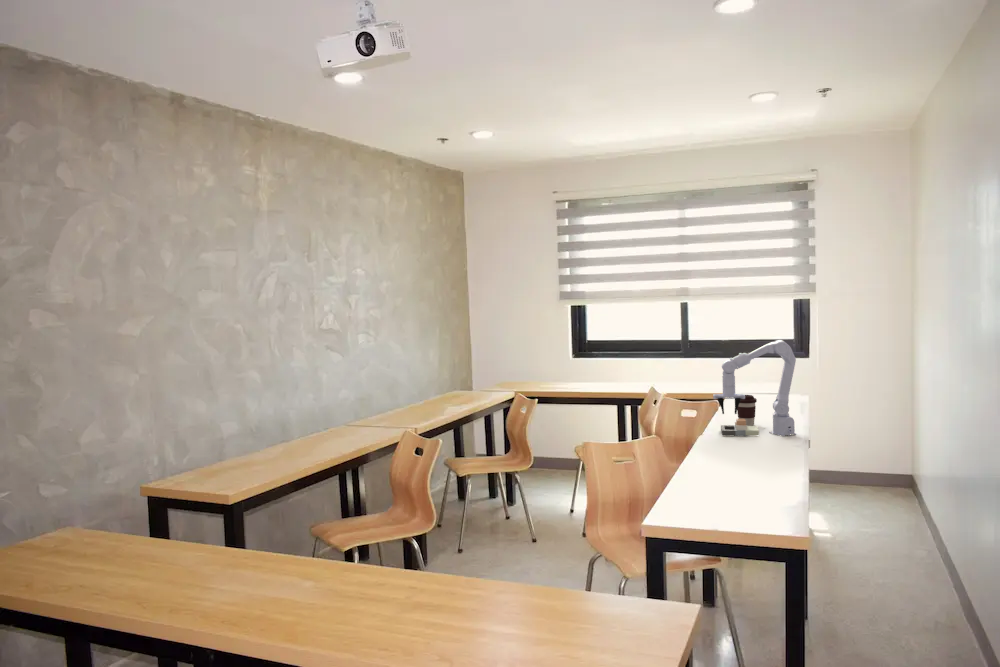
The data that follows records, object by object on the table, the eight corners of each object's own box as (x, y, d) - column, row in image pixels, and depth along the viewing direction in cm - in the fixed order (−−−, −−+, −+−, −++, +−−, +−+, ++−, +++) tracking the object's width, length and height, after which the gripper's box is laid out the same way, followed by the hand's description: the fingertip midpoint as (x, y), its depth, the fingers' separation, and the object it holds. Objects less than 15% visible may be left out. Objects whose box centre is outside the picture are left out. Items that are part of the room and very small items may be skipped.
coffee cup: (753, 427, 363) (752, 397, 362) (733, 426, 369) (732, 396, 368) (759, 424, 371) (759, 394, 370) (740, 422, 377) (739, 393, 376)
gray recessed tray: (743, 430, 358) (743, 425, 358) (745, 436, 346) (745, 430, 346) (720, 430, 361) (720, 425, 361) (722, 435, 348) (722, 430, 348)
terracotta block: (745, 427, 354) (744, 418, 354) (745, 429, 349) (745, 420, 349) (736, 426, 355) (736, 418, 355) (737, 429, 350) (736, 420, 350)
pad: (756, 430, 356) (756, 425, 356) (758, 435, 345) (758, 430, 345) (743, 430, 357) (743, 425, 357) (745, 435, 347) (745, 430, 346)
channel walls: (745, 426, 356) (745, 422, 356) (747, 430, 347) (747, 425, 347) (735, 426, 357) (734, 422, 357) (736, 429, 348) (736, 425, 348)
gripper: (713, 386, 350) (713, 415, 351) (745, 386, 346) (745, 415, 347) (712, 384, 357) (713, 412, 358) (744, 384, 353) (744, 412, 354)
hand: (729, 413), depth 353 cm, fingers open, 5 cm apart
